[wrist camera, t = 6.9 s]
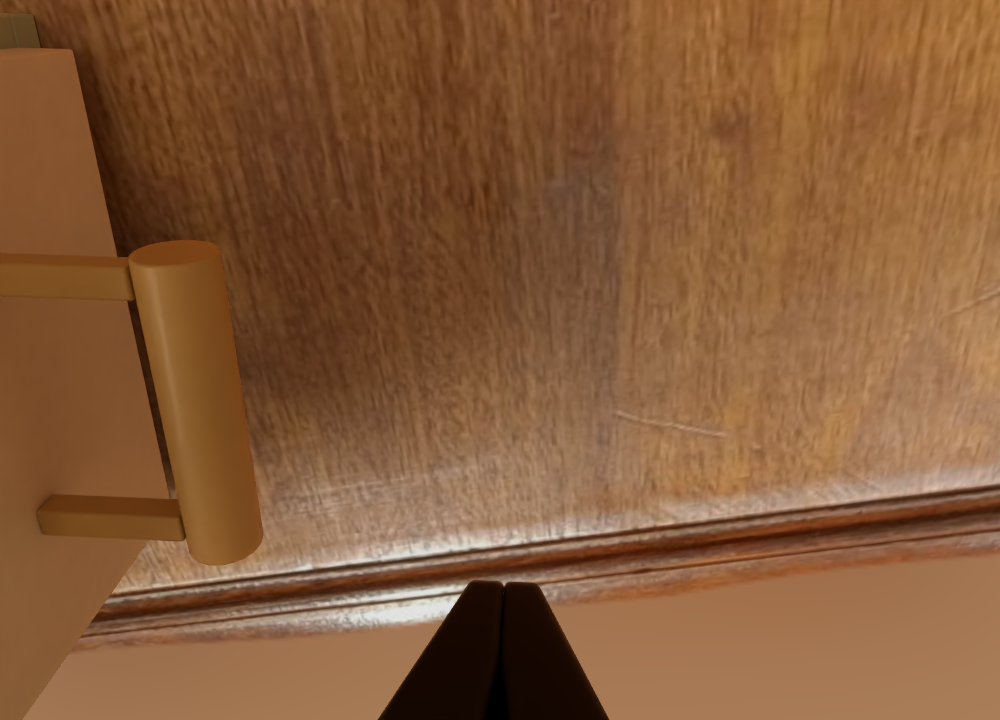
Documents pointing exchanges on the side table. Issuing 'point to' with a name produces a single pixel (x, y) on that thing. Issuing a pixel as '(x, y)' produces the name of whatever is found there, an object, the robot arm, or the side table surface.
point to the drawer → (99, 387)
